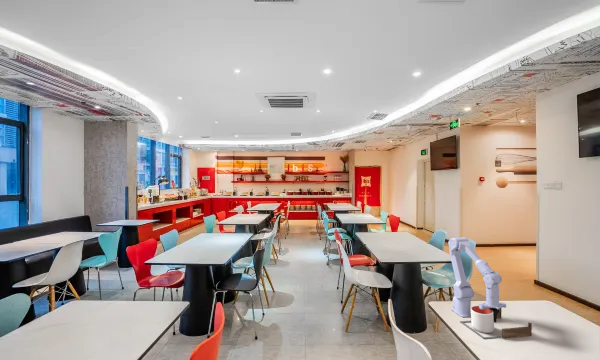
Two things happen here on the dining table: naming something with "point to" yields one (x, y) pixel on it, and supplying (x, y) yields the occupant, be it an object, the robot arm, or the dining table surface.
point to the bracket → (477, 332)
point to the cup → (482, 319)
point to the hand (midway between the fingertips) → (492, 321)
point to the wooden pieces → (515, 330)
